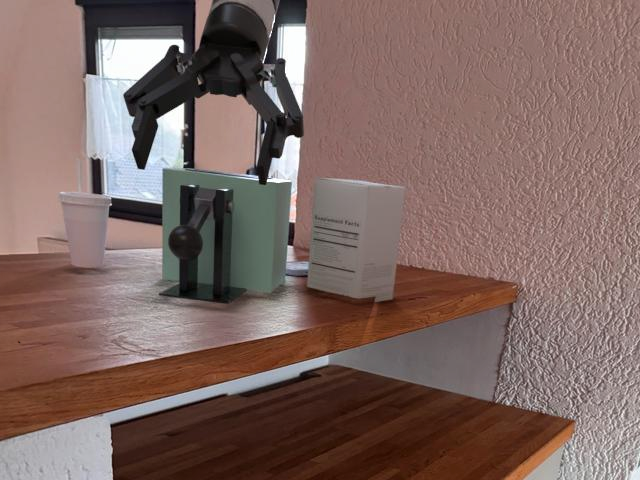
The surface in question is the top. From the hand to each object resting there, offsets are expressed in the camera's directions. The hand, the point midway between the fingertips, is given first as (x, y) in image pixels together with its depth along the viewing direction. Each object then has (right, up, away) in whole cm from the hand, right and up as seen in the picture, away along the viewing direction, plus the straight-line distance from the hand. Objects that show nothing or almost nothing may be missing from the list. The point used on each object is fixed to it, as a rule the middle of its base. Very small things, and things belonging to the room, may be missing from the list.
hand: (199, 168), depth 79 cm
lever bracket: (-1, -12, +9) cm, 15 cm away
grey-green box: (0, -8, +19) cm, 20 cm away
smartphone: (+8, 0, +39) cm, 40 cm away
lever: (-1, -7, +2) cm, 7 cm away
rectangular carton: (+16, -9, +22) cm, 29 cm away
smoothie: (-18, -7, +17) cm, 26 cm away
